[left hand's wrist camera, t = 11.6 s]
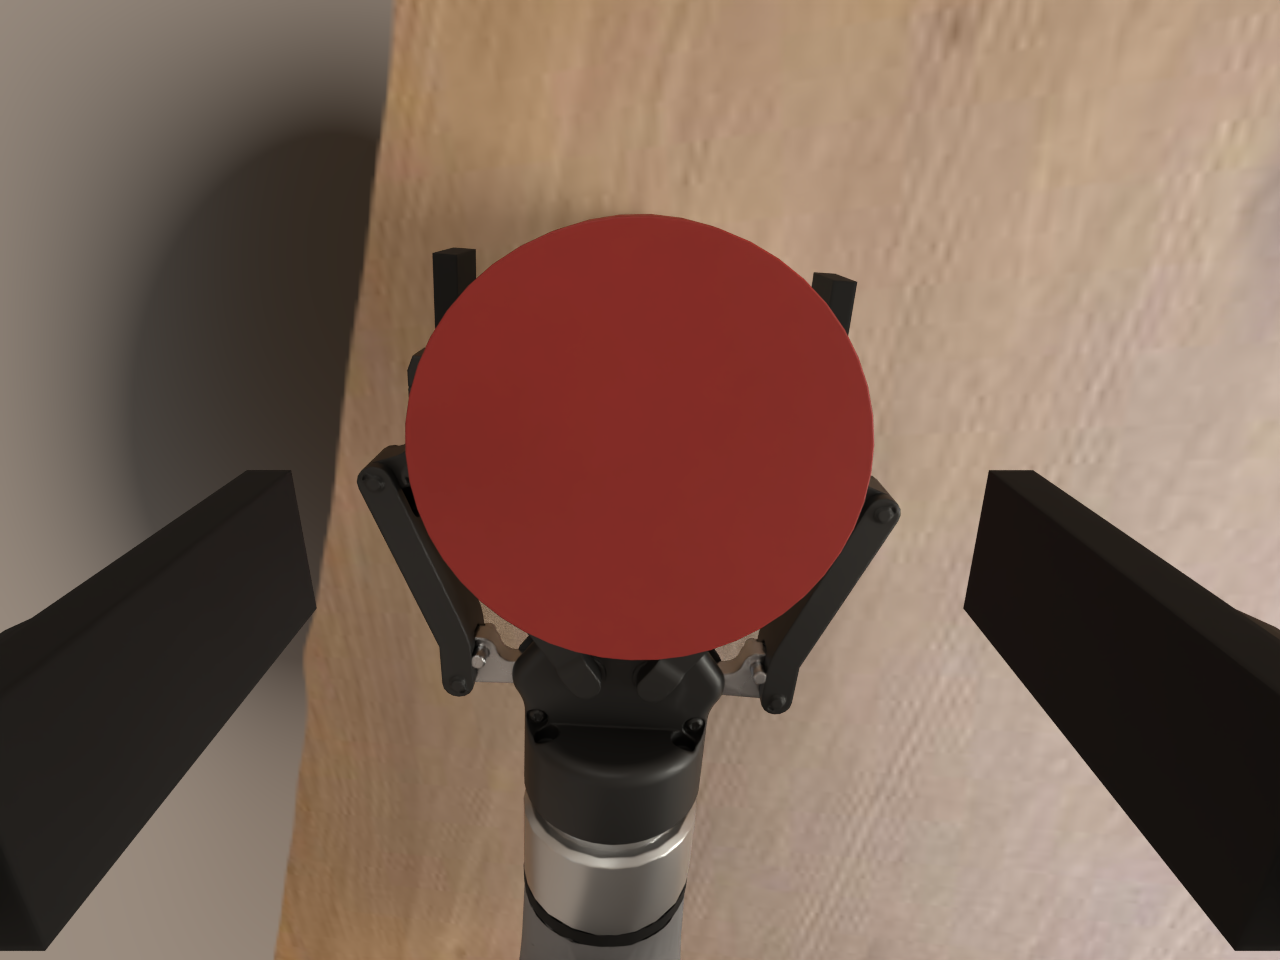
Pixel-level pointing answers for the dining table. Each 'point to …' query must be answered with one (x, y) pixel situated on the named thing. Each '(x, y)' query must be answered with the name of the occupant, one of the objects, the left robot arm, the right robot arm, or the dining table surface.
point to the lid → (639, 437)
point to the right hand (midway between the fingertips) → (646, 262)
